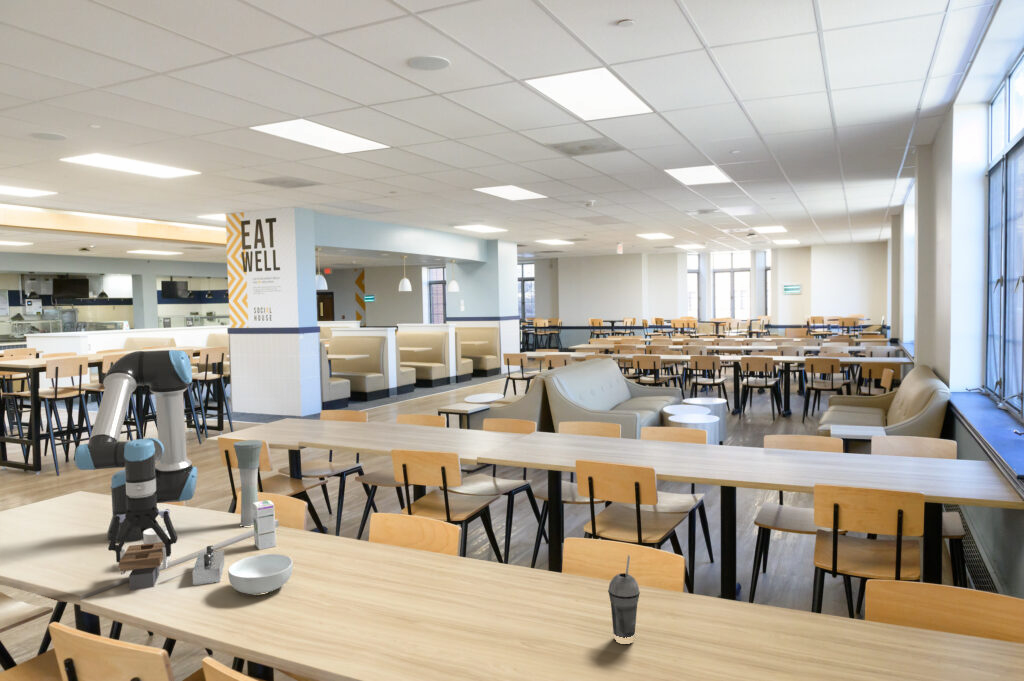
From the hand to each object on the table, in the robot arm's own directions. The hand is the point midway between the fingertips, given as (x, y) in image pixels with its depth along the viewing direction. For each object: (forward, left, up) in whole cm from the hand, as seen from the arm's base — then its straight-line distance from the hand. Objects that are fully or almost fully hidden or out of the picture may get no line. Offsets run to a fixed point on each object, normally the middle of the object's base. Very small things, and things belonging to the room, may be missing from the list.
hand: (144, 569), depth 191 cm
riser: (+1, 0, -3) cm, 3 cm away
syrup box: (-19, +32, -4) cm, 37 cm away
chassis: (+1, +17, -3) cm, 17 cm away
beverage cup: (+77, +113, -4) cm, 137 cm away
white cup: (-15, +1, -4) cm, 16 cm away
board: (0, 0, +3) cm, 3 cm away
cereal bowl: (+18, +32, -4) cm, 37 cm away
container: (-44, +26, -4) cm, 52 cm away
